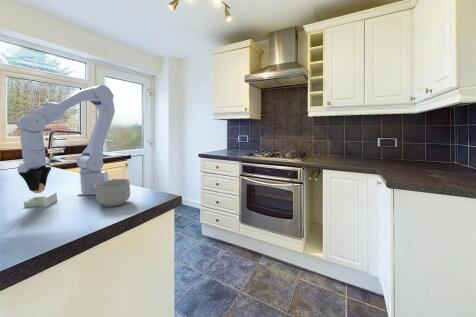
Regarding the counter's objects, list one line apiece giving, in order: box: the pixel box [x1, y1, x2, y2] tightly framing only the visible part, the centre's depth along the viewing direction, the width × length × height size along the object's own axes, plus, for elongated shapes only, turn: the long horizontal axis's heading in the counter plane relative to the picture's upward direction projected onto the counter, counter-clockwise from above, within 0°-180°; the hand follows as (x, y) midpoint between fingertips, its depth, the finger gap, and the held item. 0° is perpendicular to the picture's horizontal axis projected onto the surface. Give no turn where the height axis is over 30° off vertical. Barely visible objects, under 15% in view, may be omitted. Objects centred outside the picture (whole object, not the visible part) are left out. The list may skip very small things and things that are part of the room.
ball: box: [31, 183, 46, 194], centre depth 76 cm, size 4×4×4 cm
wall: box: [43, 192, 58, 208], centre depth 77 cm, size 1×7×3 cm, turn 17°
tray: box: [23, 195, 48, 208], centre depth 77 cm, size 6×6×2 cm
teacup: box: [94, 178, 131, 208], centre depth 78 cm, size 14×11×8 cm
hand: (38, 188), depth 76 cm, fingers closed on ball, 4 cm apart
